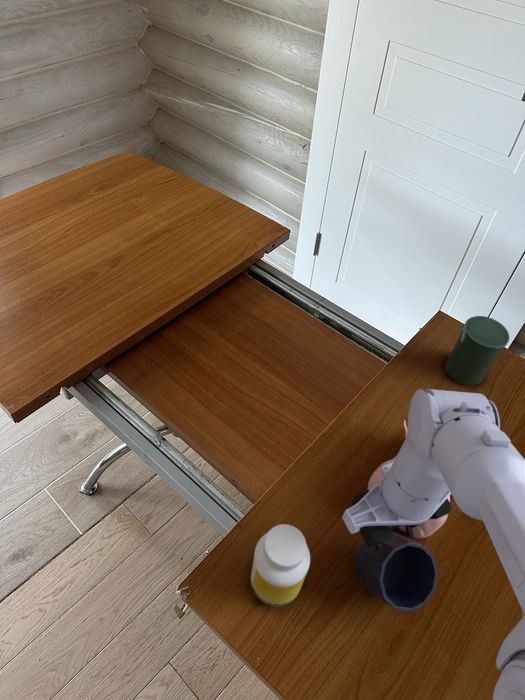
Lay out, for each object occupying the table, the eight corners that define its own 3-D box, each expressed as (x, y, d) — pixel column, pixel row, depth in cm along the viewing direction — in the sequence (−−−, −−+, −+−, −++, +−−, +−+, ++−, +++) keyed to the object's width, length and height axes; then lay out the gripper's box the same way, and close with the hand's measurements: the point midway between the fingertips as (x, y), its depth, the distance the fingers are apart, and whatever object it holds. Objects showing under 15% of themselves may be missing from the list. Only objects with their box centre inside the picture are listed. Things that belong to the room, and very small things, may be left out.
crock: (493, 379, 90) (519, 341, 83) (461, 391, 88) (484, 352, 81) (467, 351, 95) (489, 311, 87) (436, 361, 92) (455, 321, 85)
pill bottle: (297, 613, 63) (311, 581, 54) (245, 602, 63) (251, 568, 54) (304, 560, 67) (318, 522, 58) (255, 549, 67) (261, 511, 59)
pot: (414, 578, 66) (444, 595, 61) (364, 602, 64) (390, 622, 58) (393, 500, 66) (421, 510, 61) (342, 521, 64) (366, 533, 58)
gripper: (453, 422, 57) (417, 481, 67) (338, 464, 52) (318, 521, 62) (496, 476, 52) (450, 531, 62) (375, 527, 48) (347, 577, 58)
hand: (386, 529), depth 62 cm, fingers closed on pot, 5 cm apart
